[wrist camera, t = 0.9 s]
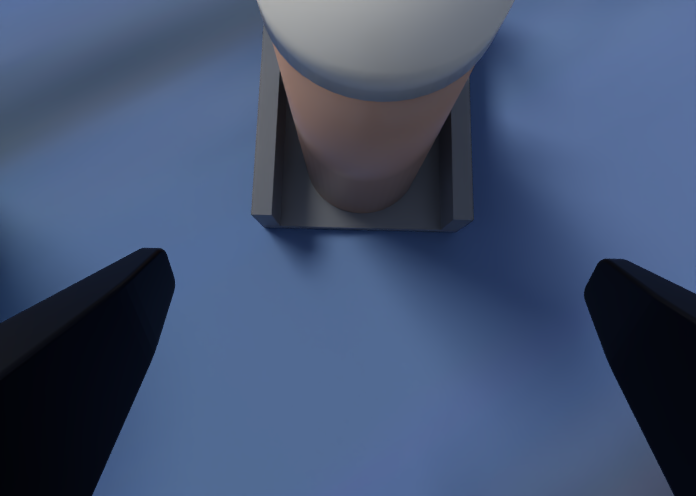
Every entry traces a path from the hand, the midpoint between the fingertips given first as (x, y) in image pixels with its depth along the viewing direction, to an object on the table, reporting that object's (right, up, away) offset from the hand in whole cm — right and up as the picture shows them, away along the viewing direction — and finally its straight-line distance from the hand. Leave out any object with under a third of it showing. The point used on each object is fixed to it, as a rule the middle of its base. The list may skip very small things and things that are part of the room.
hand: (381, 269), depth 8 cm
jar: (0, +6, +14) cm, 15 cm away
